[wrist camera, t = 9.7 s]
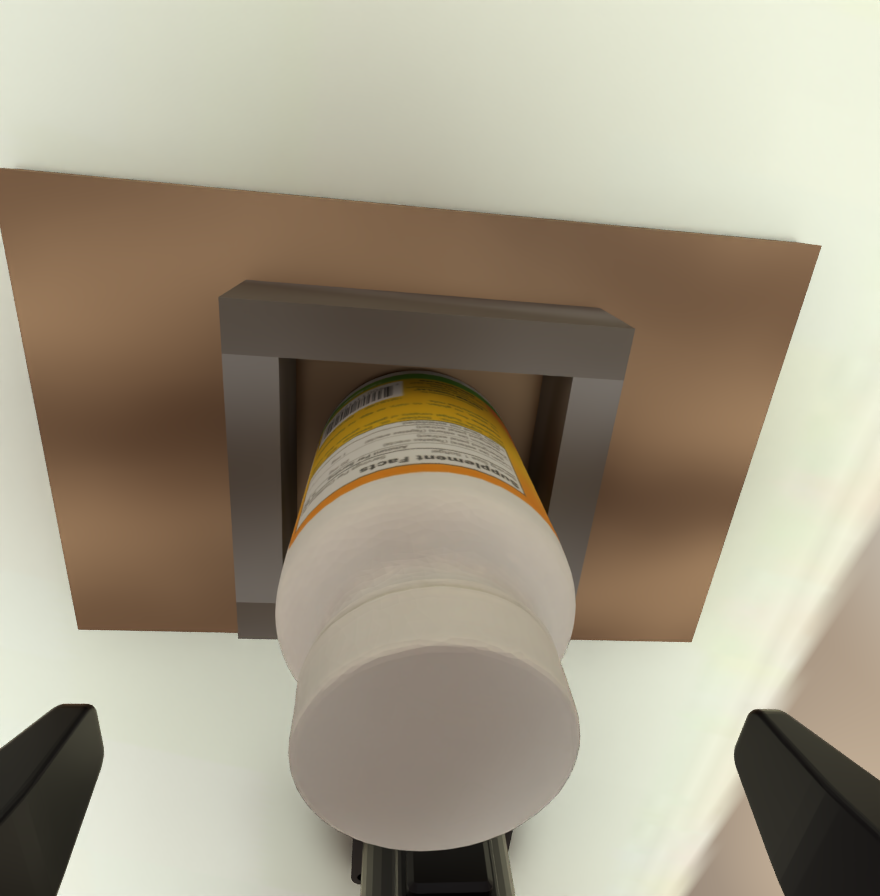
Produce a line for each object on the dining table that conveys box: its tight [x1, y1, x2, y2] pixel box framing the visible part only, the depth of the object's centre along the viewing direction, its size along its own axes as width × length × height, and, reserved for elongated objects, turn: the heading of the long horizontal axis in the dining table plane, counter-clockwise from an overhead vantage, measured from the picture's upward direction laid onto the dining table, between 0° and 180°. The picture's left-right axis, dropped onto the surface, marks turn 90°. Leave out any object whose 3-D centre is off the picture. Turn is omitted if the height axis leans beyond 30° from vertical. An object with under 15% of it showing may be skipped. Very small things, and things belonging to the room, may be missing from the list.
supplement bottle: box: [275, 370, 580, 851], centre depth 12 cm, size 5×5×10 cm
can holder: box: [0, 168, 821, 642], centre depth 16 cm, size 13×20×4 cm, turn 85°
